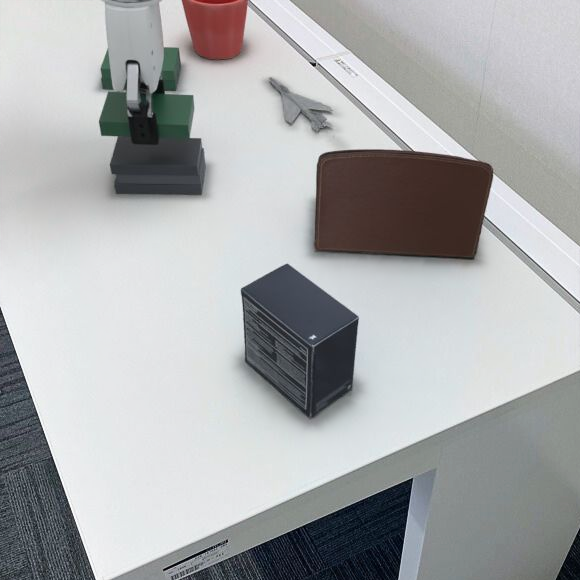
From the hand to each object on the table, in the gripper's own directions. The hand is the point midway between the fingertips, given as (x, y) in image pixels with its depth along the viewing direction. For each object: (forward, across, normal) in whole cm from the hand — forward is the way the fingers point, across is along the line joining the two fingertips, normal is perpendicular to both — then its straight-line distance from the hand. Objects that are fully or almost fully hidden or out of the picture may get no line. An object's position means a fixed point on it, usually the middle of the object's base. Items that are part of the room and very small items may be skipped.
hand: (149, 124), depth 96 cm
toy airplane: (+8, -18, +20) cm, 28 cm away
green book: (0, 0, 0) cm, 0 cm away
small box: (+8, +34, +19) cm, 40 cm away
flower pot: (+8, -37, +6) cm, 38 cm away
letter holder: (+8, +10, +31) cm, 33 cm away
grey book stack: (+8, 0, +1) cm, 8 cm away
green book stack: (+8, -27, -5) cm, 29 cm away
